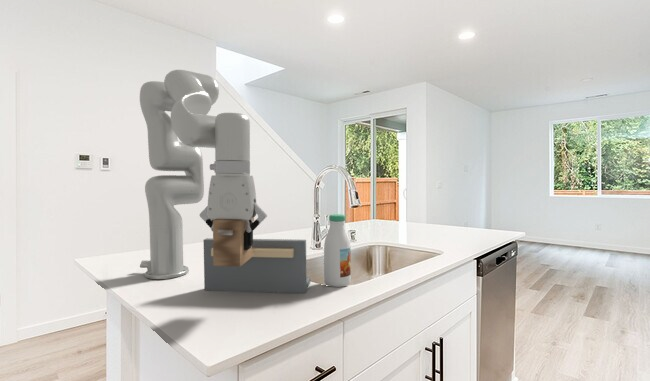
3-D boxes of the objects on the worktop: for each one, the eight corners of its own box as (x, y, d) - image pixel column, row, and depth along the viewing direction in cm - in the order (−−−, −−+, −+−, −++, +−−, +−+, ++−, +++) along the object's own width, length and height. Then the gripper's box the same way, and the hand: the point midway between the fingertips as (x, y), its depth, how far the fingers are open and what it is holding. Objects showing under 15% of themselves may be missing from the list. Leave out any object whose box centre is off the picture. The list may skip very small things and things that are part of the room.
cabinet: (211, 266, 72) (210, 220, 72) (230, 254, 83) (230, 214, 83) (238, 268, 72) (238, 221, 71) (254, 255, 83) (254, 214, 82)
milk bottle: (330, 289, 93) (330, 217, 92) (320, 281, 100) (319, 214, 99) (355, 285, 96) (355, 215, 95) (343, 278, 103) (343, 212, 102)
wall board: (201, 292, 90) (200, 241, 90) (219, 279, 102) (218, 233, 102) (304, 295, 88) (303, 242, 87) (310, 281, 100) (310, 234, 99)
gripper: (187, 168, 73) (189, 251, 74) (265, 169, 71) (265, 253, 72) (203, 169, 80) (204, 243, 81) (274, 169, 79) (274, 246, 80)
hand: (233, 247), depth 77 cm, fingers closed on cabinet, 6 cm apart
